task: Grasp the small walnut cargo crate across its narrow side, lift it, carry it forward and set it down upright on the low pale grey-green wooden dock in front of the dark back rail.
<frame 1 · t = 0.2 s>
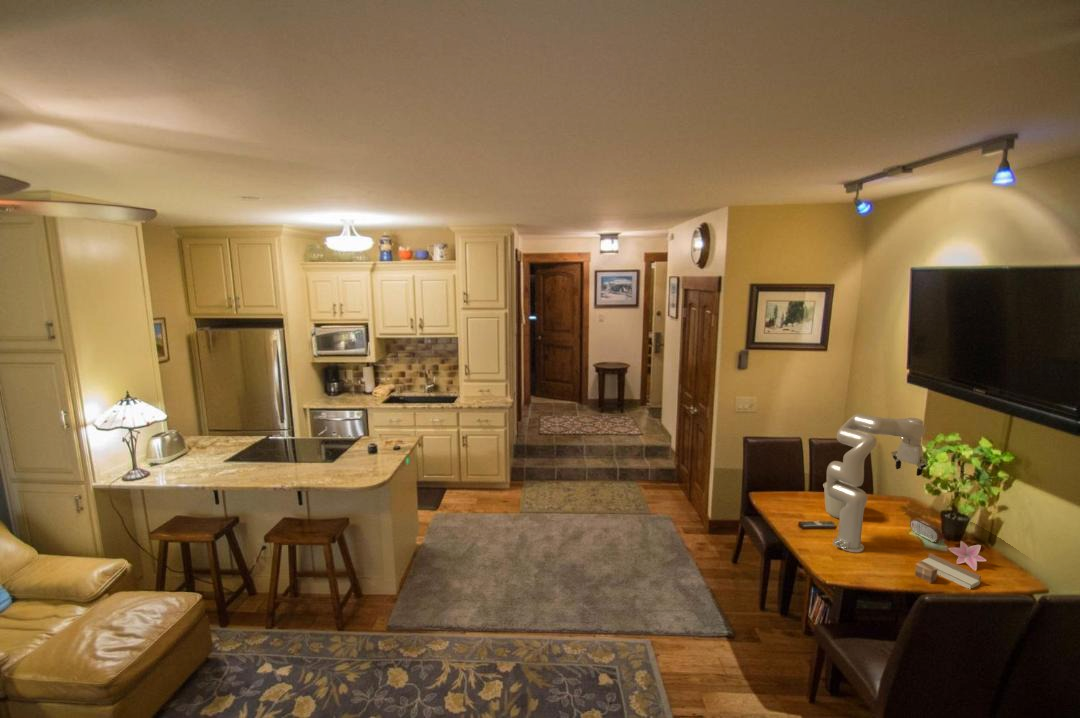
hand: (908, 471, 244), 31 cm above the table, fingers open, 9 cm apart
crate: (925, 578, 206), on the table
lily: (966, 564, 215), on the table
tin: (924, 537, 237), on the table
dock: (948, 574, 208), on the table
canister: (839, 515, 262), on the table
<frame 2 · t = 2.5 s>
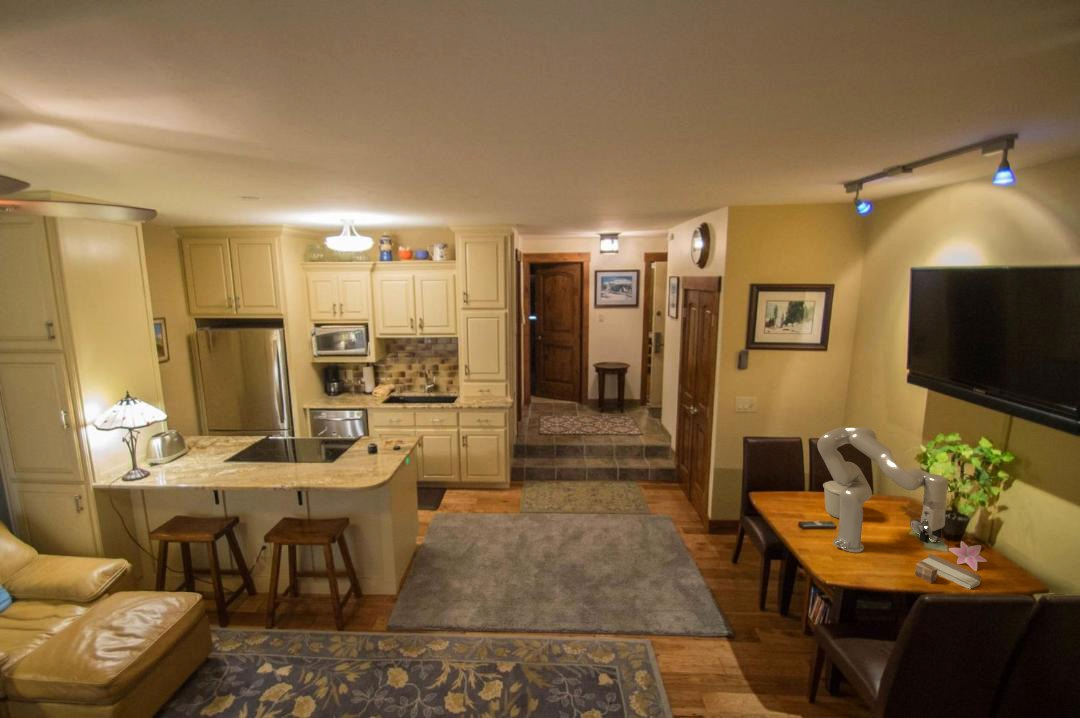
hand: (930, 538, 203), 19 cm above the table, fingers open, 9 cm apart
nothing on the table moved.
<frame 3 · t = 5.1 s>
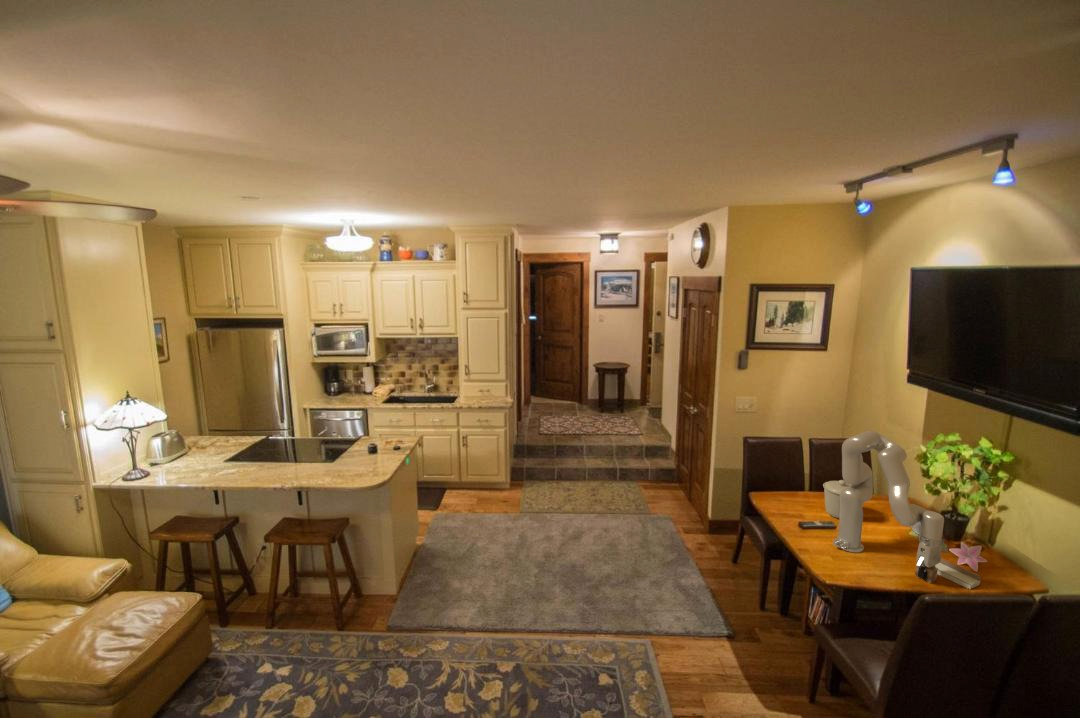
hand: (925, 576, 205), 1 cm above the table, fingers closed on crate, 4 cm apart
crate: (925, 578, 206), on the table, touching gripper
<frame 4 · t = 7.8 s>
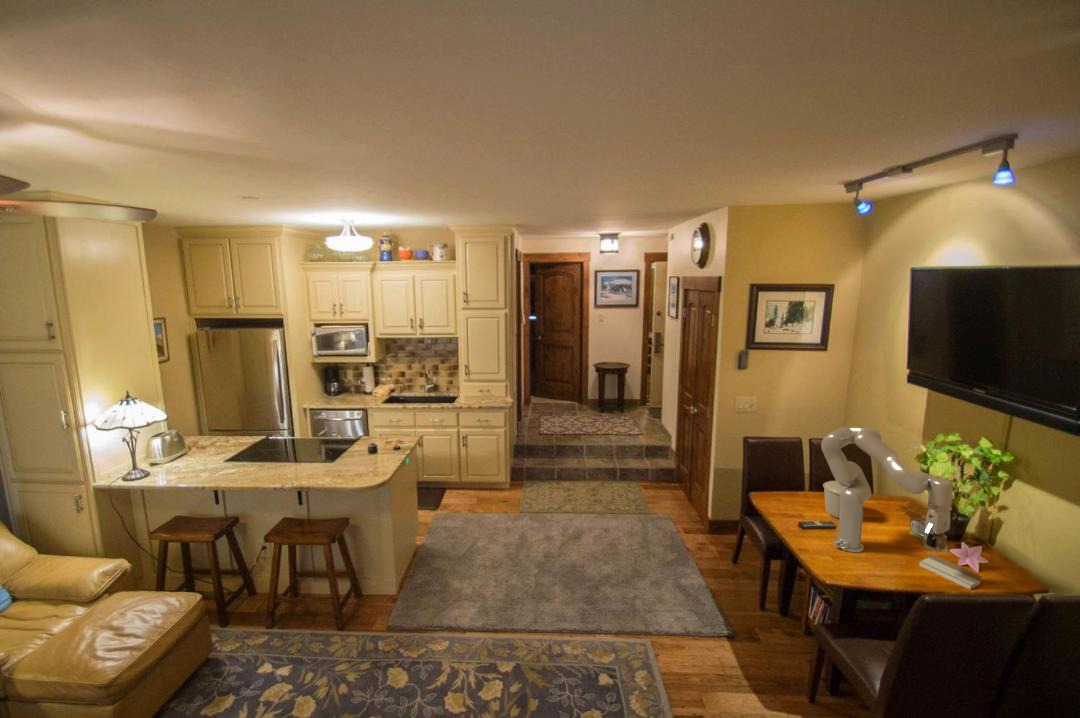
hand: (934, 544, 203), 16 cm above the table, fingers closed on crate, 4 cm apart
crate: (934, 546, 203), point 16 cm above the table, touching gripper
when the fingers open (4 cm above the table, at t = 10.5 s): crate stays where it is, resting on dock.
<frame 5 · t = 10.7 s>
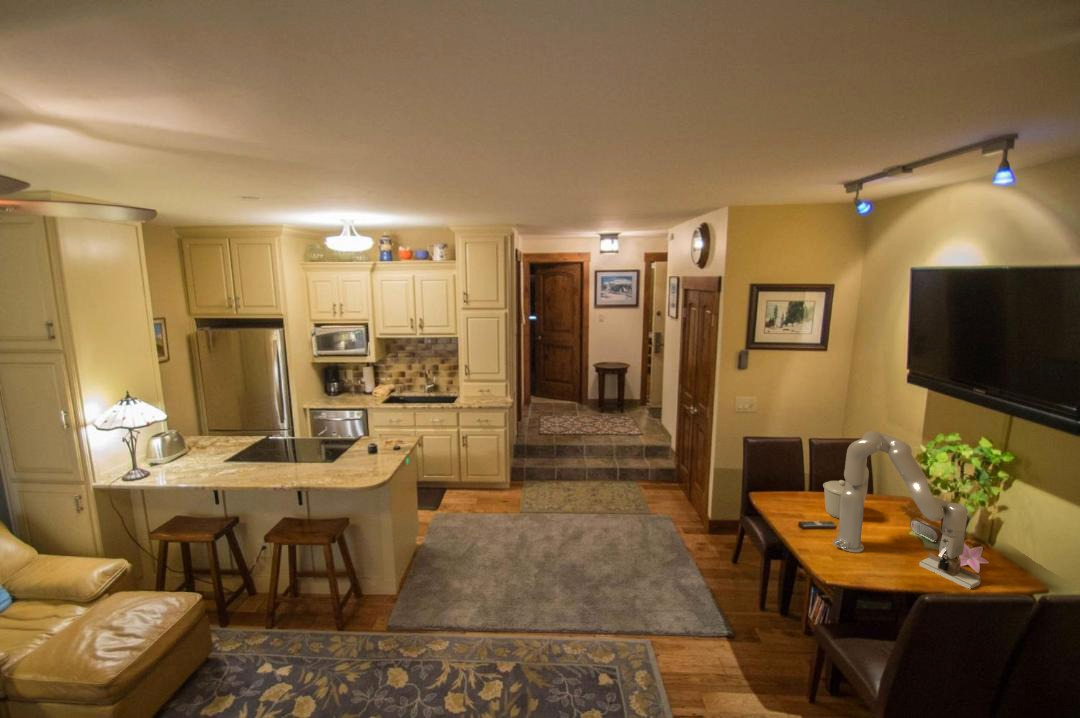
hand: (948, 567, 207), 4 cm above the table, fingers open, 6 cm apart
crate: (948, 570, 207), point 2 cm above the table, touching dock
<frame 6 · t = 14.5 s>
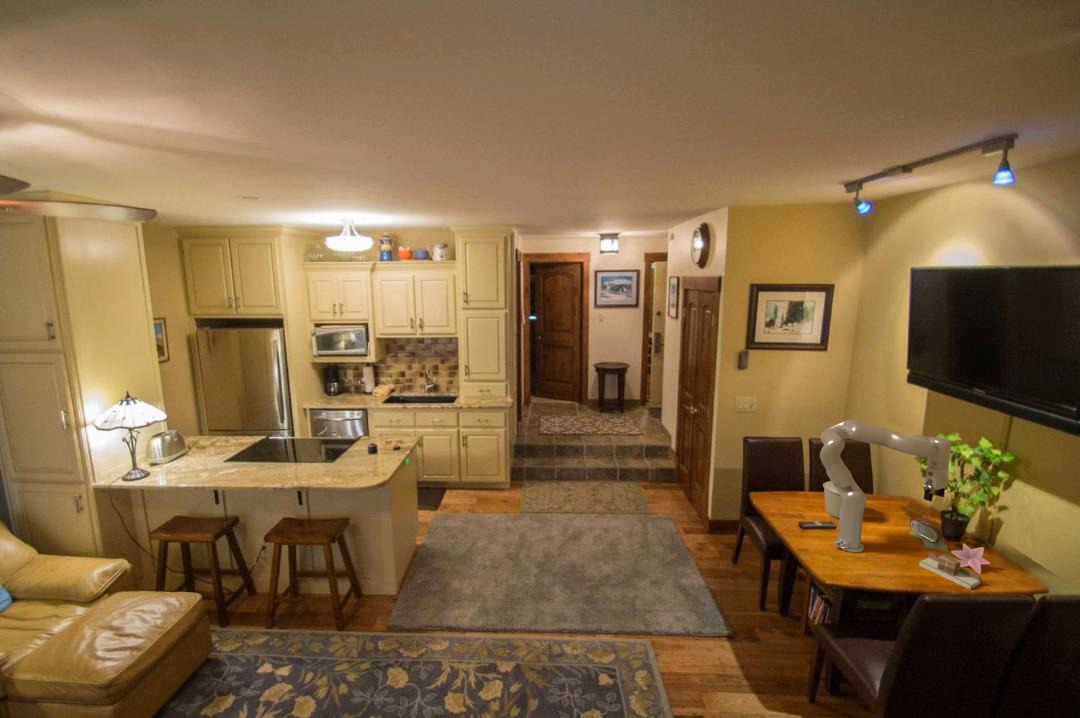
hand: (933, 498, 216), 30 cm above the table, fingers open, 9 cm apart
at the end: crate inside the target area on the dock (0.6 cm from its centre), point 2.0 cm above the dock's base; crate tilted 0°; crate touching dock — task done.
